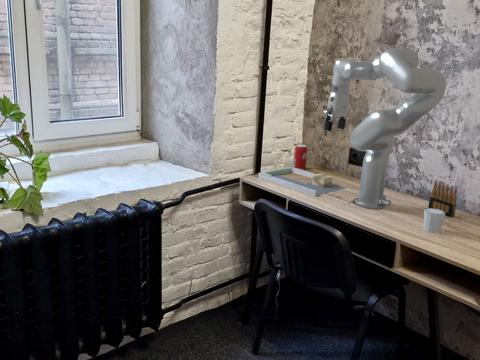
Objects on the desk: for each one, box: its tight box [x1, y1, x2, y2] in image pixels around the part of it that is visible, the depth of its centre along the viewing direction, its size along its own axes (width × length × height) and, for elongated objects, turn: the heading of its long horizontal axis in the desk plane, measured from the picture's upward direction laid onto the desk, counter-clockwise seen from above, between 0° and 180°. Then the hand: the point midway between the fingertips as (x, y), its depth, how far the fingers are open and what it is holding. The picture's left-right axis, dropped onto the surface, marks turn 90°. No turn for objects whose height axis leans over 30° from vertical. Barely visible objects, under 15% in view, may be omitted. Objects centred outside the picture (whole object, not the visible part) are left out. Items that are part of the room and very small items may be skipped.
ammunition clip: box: [427, 180, 458, 218], centre depth 191 cm, size 11×2×12 cm, turn 33°
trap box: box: [257, 166, 347, 197], centre depth 216 cm, size 32×22×4 cm
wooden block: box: [311, 173, 333, 187], centre depth 214 cm, size 6×6×4 cm
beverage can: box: [292, 144, 308, 171], centre depth 243 cm, size 6×6×12 cm
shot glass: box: [422, 207, 446, 234], centre depth 172 cm, size 7×7×7 cm
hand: (334, 129), depth 212 cm, fingers open, 9 cm apart
